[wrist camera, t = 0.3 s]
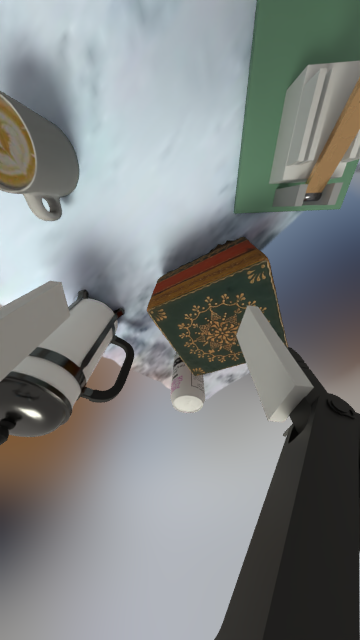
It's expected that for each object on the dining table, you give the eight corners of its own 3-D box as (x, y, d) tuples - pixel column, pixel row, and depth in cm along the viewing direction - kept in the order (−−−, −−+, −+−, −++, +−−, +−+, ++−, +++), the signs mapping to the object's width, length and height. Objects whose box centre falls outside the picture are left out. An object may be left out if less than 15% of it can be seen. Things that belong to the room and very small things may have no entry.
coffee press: (86, 342, 51) (-13, 474, 26) (57, 293, 43) (-131, 416, 18) (143, 336, 49) (96, 473, 24) (124, 283, 41) (20, 406, 15)
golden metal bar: (434, -80, 11) (449, -83, 11) (478, -85, 11) (496, -89, 11) (295, 198, 26) (298, 204, 25) (313, 197, 26) (317, 203, 25)
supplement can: (199, 368, 55) (202, 415, 42) (173, 365, 55) (169, 412, 42) (203, 348, 51) (208, 395, 38) (175, 346, 51) (170, 392, 38)
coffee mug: (6, 112, 27) (-79, 69, 18) (72, 122, 27) (19, 84, 18) (35, 214, 34) (-15, 217, 25) (87, 221, 34) (54, 226, 26)
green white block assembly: (269, -119, 17) (336, -383, 10) (467, -147, 16) (719, -465, 9) (233, 213, 32) (247, 215, 25) (335, 209, 31) (383, 209, 24)
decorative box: (249, 229, 35) (282, 233, 20) (266, 322, 44) (297, 370, 29) (157, 265, 40) (131, 288, 26) (189, 340, 49) (183, 388, 35)
